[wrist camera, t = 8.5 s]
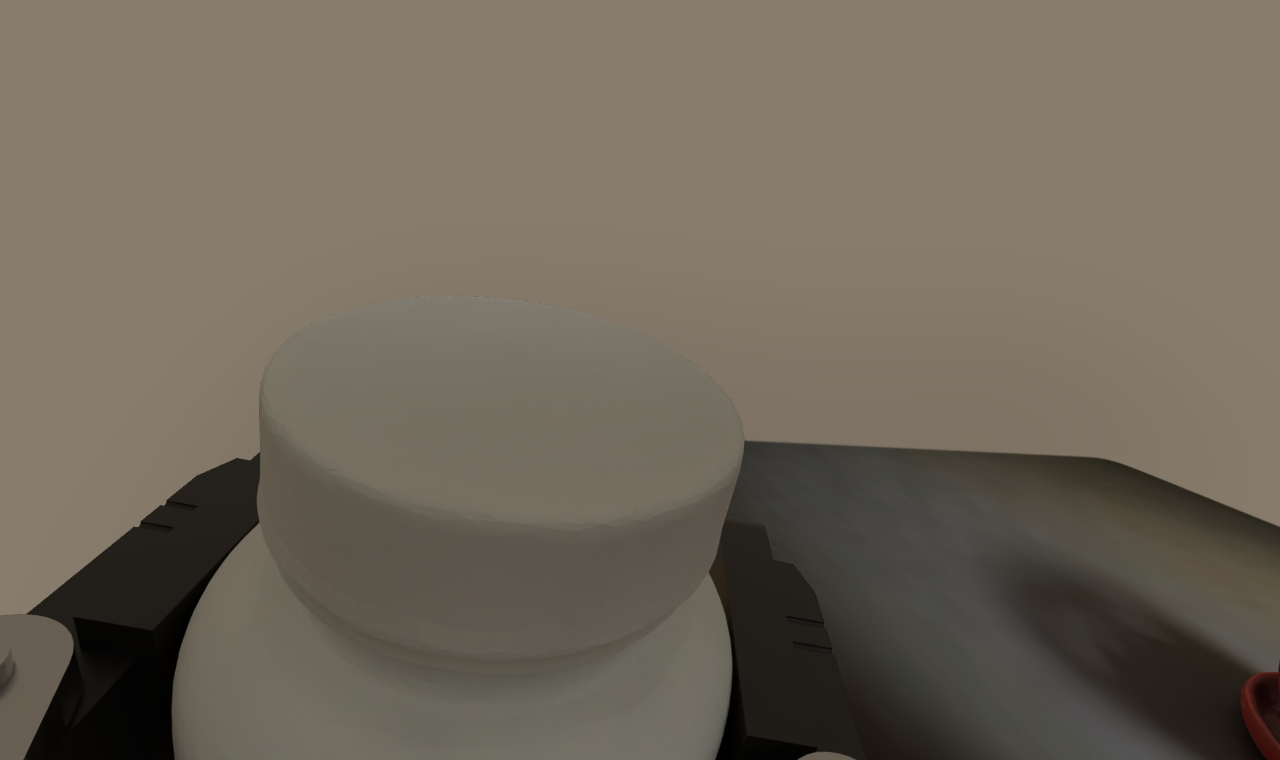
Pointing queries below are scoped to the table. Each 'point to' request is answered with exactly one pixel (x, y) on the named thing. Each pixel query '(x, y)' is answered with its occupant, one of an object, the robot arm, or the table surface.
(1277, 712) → the plant pot
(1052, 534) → the table surface
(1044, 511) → the table surface
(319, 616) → the supplement bottle
